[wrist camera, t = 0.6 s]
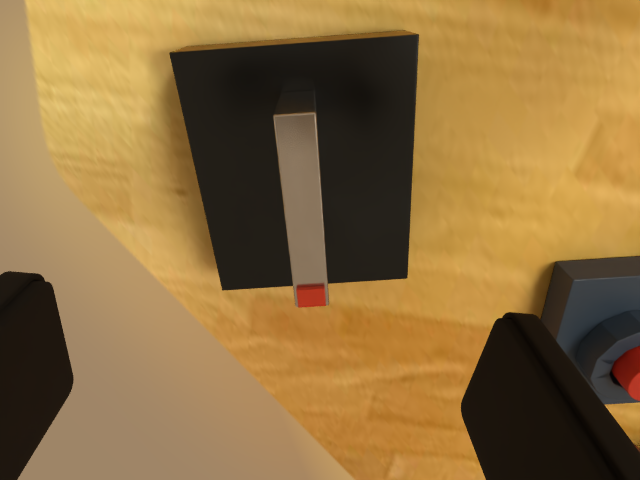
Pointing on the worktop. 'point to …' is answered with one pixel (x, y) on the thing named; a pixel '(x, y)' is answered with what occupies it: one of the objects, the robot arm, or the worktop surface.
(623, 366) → the button
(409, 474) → the worktop surface
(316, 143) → the silver lever handle
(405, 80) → the base
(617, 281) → the red push button box
